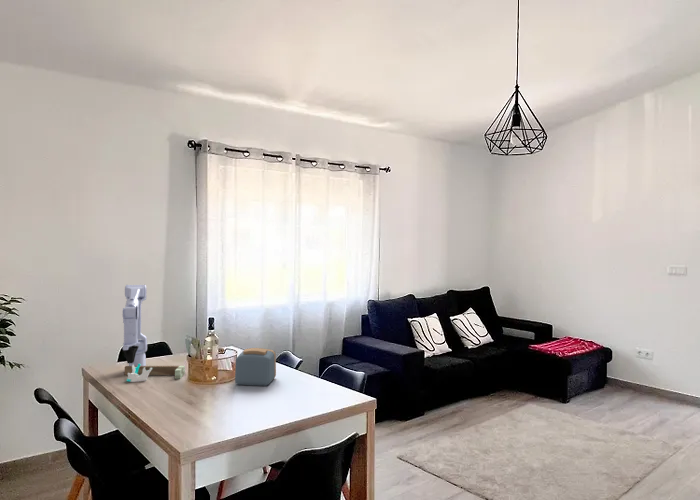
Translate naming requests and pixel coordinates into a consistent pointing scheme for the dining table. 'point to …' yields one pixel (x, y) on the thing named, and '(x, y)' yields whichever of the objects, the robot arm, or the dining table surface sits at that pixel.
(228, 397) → the dining table surface
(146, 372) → the jawbone
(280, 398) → the dining table surface
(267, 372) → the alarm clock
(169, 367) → the cleat board
